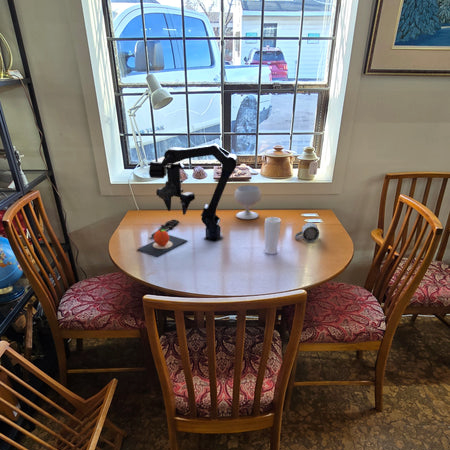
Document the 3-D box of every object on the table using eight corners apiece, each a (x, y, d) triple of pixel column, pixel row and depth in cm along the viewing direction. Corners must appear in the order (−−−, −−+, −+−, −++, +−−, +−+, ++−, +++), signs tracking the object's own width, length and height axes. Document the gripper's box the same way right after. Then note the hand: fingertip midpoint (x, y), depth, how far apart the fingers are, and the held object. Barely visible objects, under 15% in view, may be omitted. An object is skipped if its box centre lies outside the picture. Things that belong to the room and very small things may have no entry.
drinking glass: (268, 256, 159) (270, 223, 151) (260, 250, 164) (261, 218, 156) (281, 253, 161) (284, 220, 153) (272, 247, 166) (275, 215, 158)
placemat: (187, 241, 173) (187, 240, 172) (157, 257, 159) (157, 255, 159) (168, 235, 179) (167, 234, 178) (137, 250, 165) (137, 248, 165)
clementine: (164, 239, 173) (162, 225, 169) (174, 243, 169) (173, 228, 165) (151, 245, 168) (149, 230, 164) (161, 249, 164) (160, 234, 160)
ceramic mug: (316, 235, 178) (318, 220, 173) (318, 242, 171) (320, 226, 167) (294, 235, 178) (295, 220, 174) (295, 242, 172) (296, 226, 167)
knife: (154, 240, 174) (154, 238, 173) (143, 238, 176) (142, 235, 175) (182, 223, 193) (181, 220, 192) (171, 221, 195) (171, 218, 195)
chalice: (236, 211, 208) (236, 184, 200) (260, 212, 206) (262, 185, 198) (233, 220, 196) (233, 191, 188) (259, 221, 195) (260, 192, 187)
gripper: (145, 179, 162) (149, 213, 170) (177, 185, 153) (180, 221, 161) (163, 174, 169) (166, 207, 178) (194, 180, 160) (196, 214, 169)
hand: (176, 212), depth 171 cm, fingers open, 9 cm apart
